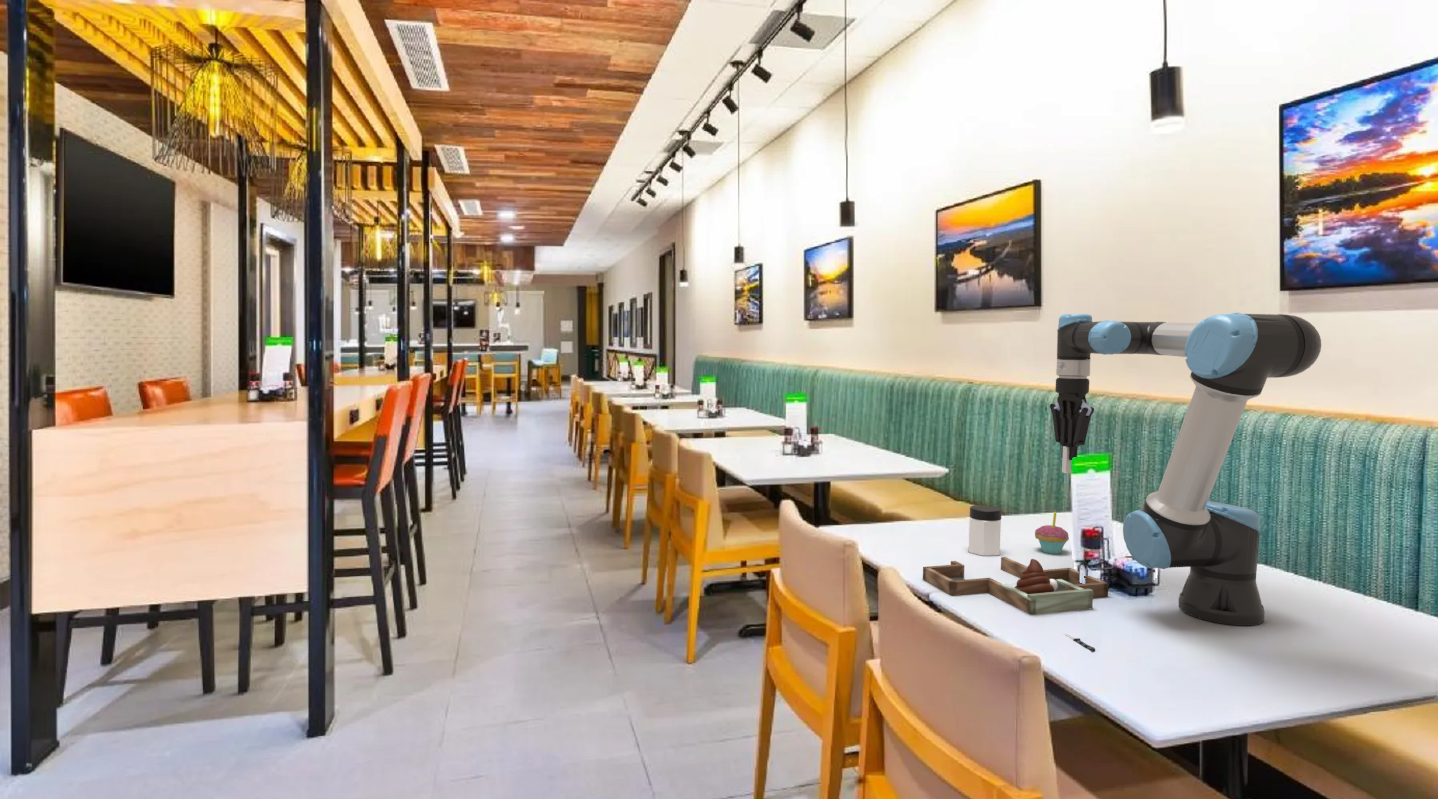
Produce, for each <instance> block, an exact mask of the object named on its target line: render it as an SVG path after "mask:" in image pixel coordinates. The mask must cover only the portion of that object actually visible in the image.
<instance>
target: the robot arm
mask: <svg viewBox="0 0 1438 799" xmlns="http://www.w3.org/2000/svg"><path fill="white" fill-rule="evenodd" d="M1057 326H1058V327H1057V330H1056V332H1057V333H1056V334H1057V336H1056V337H1057V339H1056V340H1057V341H1056V342H1057V344H1056V371H1055V372H1056V373H1055V375H1056V376H1057V378H1056V379H1055V393H1057V394H1058V396H1057V400H1056V401H1055V402H1054V403H1050V405H1049V408H1050V411H1051V415H1052V421H1053V422H1052V423H1053V429H1054V438H1055V442H1056V443H1059V444H1060V446H1061V460H1062V461H1061V462H1062V464H1061V473H1063V474H1073V473H1072V471H1071V460H1072V458H1073V457H1077V458H1078V448H1079V447H1080V446H1084V445H1085V444H1086V439H1087V436H1088V430H1089V426H1090V421H1091V417H1092V416H1093V413H1094V412H1095V408H1094V407H1093V406H1091V407H1090V406H1089V405H1088V404H1087V402H1088V401H1087V398H1086V395H1087V394H1089V392H1090V379H1089V378H1088V377H1090V376H1091V354H1094V355H1095V354H1097V355H1098V354H1099V355H1105V356H1106V355H1154V356H1155V355H1156V356H1169V357H1179V358H1181V357H1183V358H1184V357H1185V358H1186V359H1185V363H1186V366H1187V368H1188V369H1189V370H1190V371H1191V372H1190V376H1189V377H1190V379H1191V381H1192V382H1193V384H1194V385H1195V389H1194V391H1193V394H1192V396H1191V398H1190V402H1189V405H1188V407H1187V410H1186V412H1185V415H1184V418H1183V422H1182V424H1181V427H1180V430H1179V432H1178V436H1177V438H1176V441H1175V443H1174V446H1173V449H1172V451H1171V454H1170V458H1169V459H1168V463H1167V466H1166V467H1165V471H1164V473H1163V477H1162V479H1161V482H1160V485H1159V488H1158V491H1153V492H1151V493H1149V494H1148V495H1147V496H1146V497H1145V501H1144V504H1143V507H1142V509H1141V510H1139V509H1135V510H1134V511H1132V512H1129V513H1128V514H1127V515H1126V517H1125V518H1124V520H1123V524H1122V525H1123V526H1122V536H1123V540H1124V543H1125V546H1126V549H1127V550H1128V553H1129V554H1130V556H1131V557H1132V558H1133V559H1134V561H1136V562H1137V563H1138V564H1139V565H1140V566H1142V567H1145V568H1148V569H1149V568H1150V569H1160V570H1161V569H1162V570H1165V569H1171V568H1189V574H1188V576H1187V578H1186V580H1185V582H1184V586H1183V588H1182V591H1181V592H1180V593H1179V596H1178V608H1179V610H1181V611H1182V612H1184V613H1185V614H1188V615H1190V616H1192V617H1195V618H1197V619H1201V620H1205V621H1208V622H1212V623H1213V622H1214V623H1217V624H1223V625H1230V626H1231V625H1233V626H1256V625H1260V624H1263V623H1264V621H1265V608H1264V605H1263V604H1262V599H1261V596H1260V591H1259V588H1258V584H1257V571H1258V556H1259V546H1260V545H1259V544H1260V543H1259V542H1260V533H1261V530H1260V517H1259V515H1258V513H1257V512H1256V511H1254V510H1252V509H1249V508H1247V507H1242V506H1237V505H1233V504H1228V503H1223V502H1217V501H1211V500H1209V499H1210V496H1211V493H1212V491H1213V490H1214V489H1213V488H1214V485H1215V484H1216V481H1217V479H1218V476H1219V473H1220V471H1221V469H1222V465H1223V463H1224V461H1225V458H1226V455H1227V453H1228V451H1229V448H1230V446H1231V443H1232V442H1233V441H1232V440H1233V439H1234V436H1235V433H1236V430H1237V428H1238V425H1239V424H1240V420H1241V418H1242V415H1243V413H1244V411H1245V408H1246V405H1247V403H1248V401H1249V400H1251V399H1254V398H1257V397H1259V396H1260V395H1261V394H1262V391H1263V388H1264V387H1265V384H1266V382H1267V379H1269V378H1270V379H1271V378H1274V379H1275V378H1289V377H1292V376H1296V375H1299V374H1301V373H1303V372H1305V371H1306V370H1307V369H1310V368H1311V366H1313V364H1315V362H1316V361H1317V360H1318V358H1319V356H1320V353H1321V352H1322V351H1321V350H1322V339H1321V336H1320V333H1319V331H1318V330H1317V328H1316V327H1315V326H1314V325H1313V324H1312V323H1311V322H1309V321H1308V320H1306V319H1304V318H1302V317H1300V316H1297V315H1292V314H1280V313H1279V314H1278V313H1277V314H1276V313H1275V314H1271V313H1270V314H1269V313H1268V314H1266V313H1241V312H1229V313H1220V314H1214V315H1210V316H1208V317H1206V318H1205V319H1203V320H1201V321H1200V322H1166V321H1117V320H1108V319H1107V320H1103V321H1101V320H1100V321H1093V316H1092V314H1088V313H1067V314H1066V313H1065V314H1061V315H1060V316H1059V318H1058V325H1057Z"/></svg>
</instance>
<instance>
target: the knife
mask: <svg viewBox="0 0 1438 799" xmlns="http://www.w3.org/2000/svg"><path fill="white" fill-rule="evenodd" d="M1063 635H1064V636H1065V637H1067V638H1069V639H1070V640H1072V641H1073V642H1075V643H1077V644H1079V645H1080V646H1081V647H1082V648H1085V649H1087V650H1089V651H1090V652H1095V651H1096V648H1095V647H1093V646H1091V645H1090V644H1087V643H1085V642H1084V641H1082V640H1081V638H1078V637H1077V638H1075V637H1074V636H1071V635H1069V634H1067V633H1063Z"/></svg>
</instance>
